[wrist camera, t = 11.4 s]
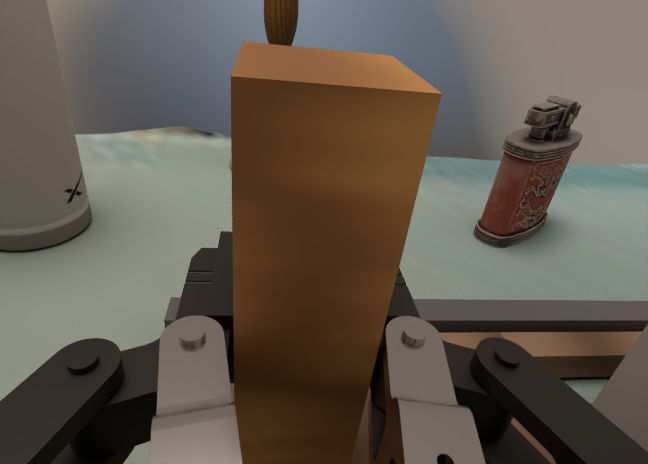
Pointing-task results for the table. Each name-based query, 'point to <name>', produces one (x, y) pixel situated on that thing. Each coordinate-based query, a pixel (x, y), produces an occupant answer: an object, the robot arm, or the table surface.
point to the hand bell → (280, 22)
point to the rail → (519, 315)
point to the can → (629, 393)
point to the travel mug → (36, 135)
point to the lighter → (529, 173)
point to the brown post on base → (335, 248)
